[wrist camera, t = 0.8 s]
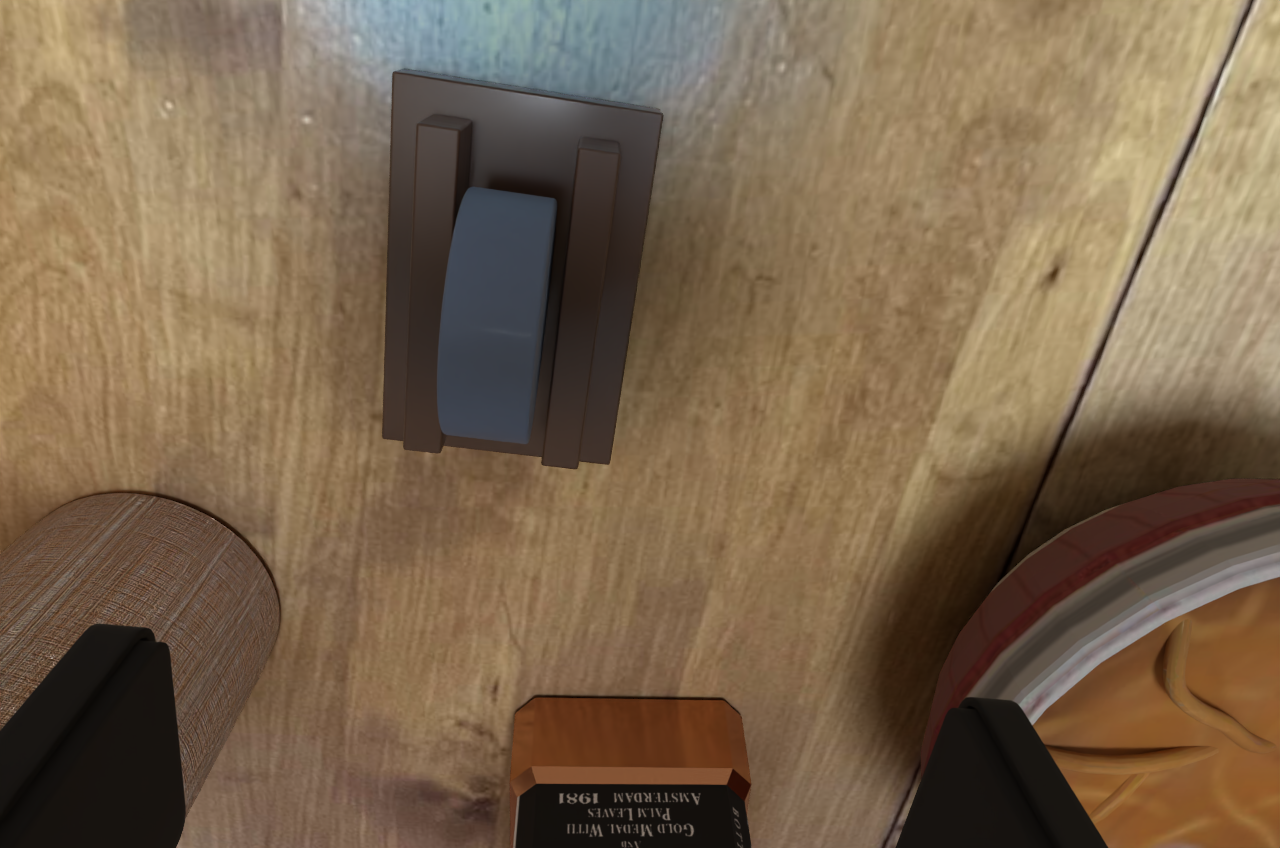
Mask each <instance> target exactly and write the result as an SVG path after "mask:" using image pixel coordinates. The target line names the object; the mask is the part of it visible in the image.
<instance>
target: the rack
mask: <svg viewBox="0 0 1280 848" xmlns="http://www.w3.org/2000/svg"><path fill="white" fill-rule="evenodd" d="M662 121H663V113H662V112H661V110H660V109H657V108H651V107H645V106H638V105H632V104H626V103H619V102H613V101H606V100H600V99H594V98H587V97H581V96H575V95H568V94H562V93H556V92H549V91H543V90H536V89H530V88H524V87H517V86H511V85H505V84H498V83H492V82H486V81H479V80H473V79H467V78H460V77H454V76H447V75H441V74H435V73H428V72H422V71H416V70H409V69H402V70H398V71H394V72H393V74H392V109H391V145H390V180H389V215H388V250H387V286H386V321H385V356H384V392H383V427H382V437H383V439H390V440H398V441H403V447H404V449H405V450H412V451H421V452H430V453H441V451H442V448H443V446H450V447H459V448H468V449H476V450H485V451H494V452H503V453H511V454H520V455H529V456H537V457H542V462H541V463H542V465H544V466H552V467H561V468H570V469H577V468H578V465H579V461H581V462H589V463H598V464H607V465H608V464H610V460H611V454H612V447H613V441H614V434H615V428H616V421H617V414H618V408H619V401H620V395H621V388H622V382H623V375H624V369H625V362H626V356H627V349H628V343H629V336H630V330H631V323H632V317H633V310H634V304H635V297H636V291H637V284H638V278H639V271H640V265H641V258H642V252H643V245H644V239H645V232H646V226H647V219H648V213H649V206H650V200H651V193H652V187H653V180H654V173H655V167H656V160H657V154H658V147H659V141H660V134H661V128H662ZM470 187H480V188H487V189H494V190H501V191H508V192H514V193H521V194H528V195H535V196H542V197H549V198H554V199H556V201H557V218H556V231H555V242H554V252H553V262H552V272H551V281H550V291H549V300H548V308H547V317H546V326H545V334H544V342H543V350H542V358H541V366H540V374H539V382H538V389H537V396H536V404H535V410H534V417H533V424H532V430H531V435H530V440H529V442H528V444H520V443H511V442H502V441H494V440H485V439H477V438H468V437H459V436H451V435H446V434H444V433H443V432H442V430H441V427H440V424H439V418H438V408H437V364H438V346H439V332H440V321H441V311H442V302H443V293H444V286H445V278H446V271H447V265H448V258H449V253H450V247H451V242H452V237H453V232H454V227H455V223H456V219H457V215H458V211H459V208H460V205H461V202H462V199H463V197H464V195H465V193H466V191H467V190H468V188H470Z"/></svg>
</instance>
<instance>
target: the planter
mask: <svg viewBox="0 0 1280 848" xmlns="http://www.w3.org/2000/svg"><path fill="white" fill-rule="evenodd" d="M279 620H280V615H279V603H278V599H277V594H276V591H275V588H274V586H273V583H272V581H271V579H270V577H269V575H268V573H267V571H266V569H265V568H264V566H263V564H262V563H261V562H260V560H259V559H258V558H257V556H256V555H255V554H254V553H253V551H252V550H251V549H250V548H249V547H248V546H247V545H246V544H245V543H244V542H243V541H242V540H241V539H240V538H239V537H238V536H237V535H235V534H234V533H233V532H232V531H230V530H229V529H228V528H226V527H225V526H223V525H222V524H220V523H219V522H218V521H216V520H214V519H213V518H211V517H209V516H208V515H206V514H204V513H202V512H200V511H198V510H195V509H193V508H191V507H188V506H186V505H183V504H180V503H177V502H174V501H171V500H168V499H164V498H159V497H155V496H149V495H142V494H131V493H111V494H102V495H95V496H90V497H86V498H82V499H79V500H76V501H73V502H70V503H68V504H66V505H64V506H62V507H60V508H58V509H56V510H54V511H53V512H51V513H50V514H48V515H47V516H46V517H44V518H43V519H42V520H40V521H39V522H38V523H37V524H35V525H34V526H33V527H31V528H30V529H29V530H27V531H26V532H25V533H24V534H22V535H21V536H20V537H19V538H18V539H17V540H15V541H14V542H13V543H12V544H11V545H10V546H9V547H7V548H6V549H5V550H4V551H3V552H2V553H1V554H0V730H1V729H2V728H3V727H4V725H5V724H6V723H7V722H8V721H9V720H10V718H11V717H12V716H13V715H14V714H15V713H16V711H17V710H18V709H19V708H20V707H21V706H22V704H23V703H24V702H25V701H26V700H27V698H28V697H29V696H30V695H31V694H32V693H33V691H34V690H35V689H36V688H37V687H38V686H39V684H40V683H41V682H42V681H43V680H44V678H45V677H46V676H47V675H48V674H49V673H50V671H51V670H52V669H53V668H54V667H55V666H56V664H57V663H58V662H59V661H60V660H61V658H62V657H63V656H64V655H65V654H66V653H67V651H68V650H69V649H70V648H71V647H72V646H73V644H74V643H75V642H76V641H77V640H78V639H79V637H80V636H81V635H82V634H83V633H84V632H85V631H86V630H87V629H88V628H89V627H90V626H92V625H94V624H109V625H121V626H133V627H145V628H149V629H151V630H152V631H153V633H154V635H155V639H156V642H164V643H167V645H168V646H169V650H170V657H171V667H172V677H173V687H174V697H175V706H176V716H177V726H178V736H179V746H180V756H181V766H182V775H183V785H184V795H185V805H186V816H185V819H186V817H187V815H188V813H189V811H190V809H191V807H192V805H193V803H194V801H195V799H196V798H197V796H198V794H199V792H200V790H201V788H202V786H203V784H204V782H205V780H206V778H207V777H208V775H209V773H210V771H211V769H212V767H213V765H214V763H215V761H216V759H217V757H218V756H219V754H220V752H221V750H222V748H223V746H224V744H225V742H226V740H227V738H228V736H229V734H230V733H231V731H232V729H233V727H234V725H235V723H236V721H237V719H238V717H239V715H240V713H241V712H242V710H243V708H244V706H245V704H246V702H247V700H248V698H249V696H250V694H251V692H252V690H253V689H254V687H255V685H256V683H257V681H258V679H259V677H260V675H261V673H262V671H263V669H264V667H265V665H266V663H267V660H268V658H269V656H270V653H271V651H272V648H273V646H274V644H275V641H276V638H277V635H278V630H279Z"/></svg>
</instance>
